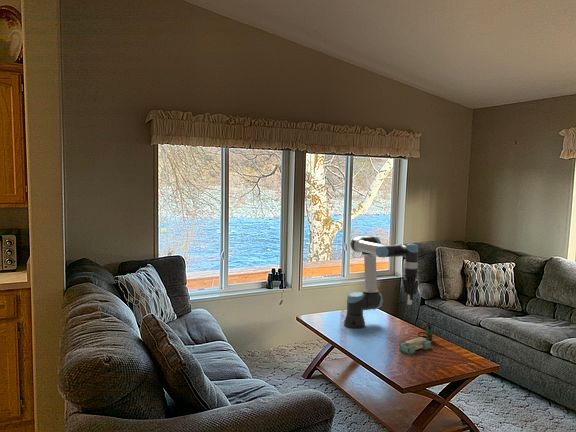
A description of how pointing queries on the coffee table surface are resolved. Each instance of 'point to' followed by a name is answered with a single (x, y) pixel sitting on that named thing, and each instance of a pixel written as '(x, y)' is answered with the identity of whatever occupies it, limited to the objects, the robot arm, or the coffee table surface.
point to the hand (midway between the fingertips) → (409, 304)
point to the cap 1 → (407, 349)
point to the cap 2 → (427, 345)
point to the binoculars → (429, 333)
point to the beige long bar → (416, 343)
